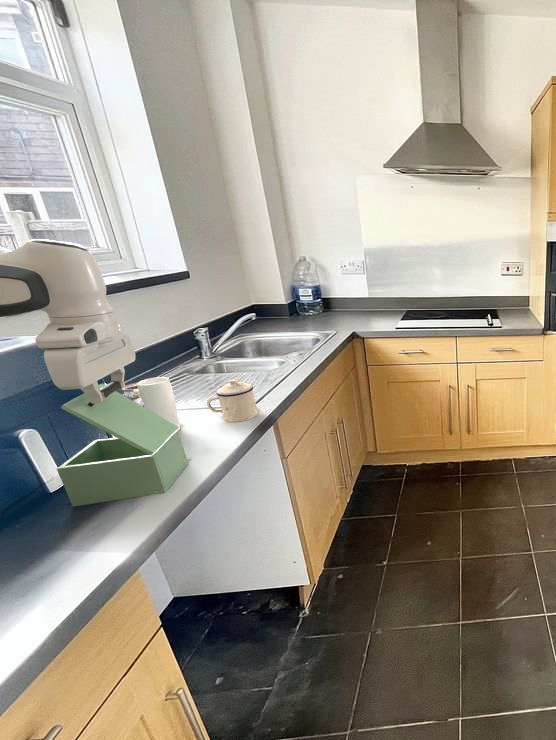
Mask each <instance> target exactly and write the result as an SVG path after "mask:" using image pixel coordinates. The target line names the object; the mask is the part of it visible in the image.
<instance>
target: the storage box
mask: <svg viewBox="0 0 556 740" xmlns="http://www.w3.org/2000/svg"><path fill="white" fill-rule="evenodd" d="M181 438H182V437H181V435H180V430H177V431H175V432H174V433H173V434H172V435H171V436H170V437H169V438H168V439H167V440H166V441H165V442H164V443H163V444H162V445H161V446H160V447H159V448H158V449H157V450H156V451H155V452H154V453H153V454H152V455H149V454H147V453H145V452H143V451H141V450H140V449H138V448H136V447H134V446H132V445H130V444H128V443H126V442H124V441H122V440H121V439H119V438H117V437H110V438H102V439H101V438H100V439H95V440H93V441H92V442H90V443H89V444H87V446H85V447H84V448H82V449H81V450H80V451H78V452H77V453H75V454H74V455H73V456H71V457H70V458H69V459H67V460H66V461H64V463H62V464H61V465H59V466H58V467H57V468H56V472H57V473H58V475H59V478H60V480H61V482H62V485H63V487H64V490H65V492H66V494H67V496H68V500H69V502H70V503H71V506H72V507H80V506H87V505H92V504H93V505H94V504H98V503H99V504H100V503H105V502H112V501H119V500H125V499H133V498H139V497H146V496H151V495H158V494H165V493H166V492H167V491H168V490H169V488H170V487H171V486H172V484H173V483H174V482H175V481H176V480H177V479H178V478H179V476H180V474H182V472H183V471H184V470H185V469H186V467H187V466H188V464H189V461H188V458H187V454H186V452H185V448H184V445H183V440H182V439H181Z"/></svg>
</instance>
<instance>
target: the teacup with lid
mask: <svg viewBox="0 0 556 740" xmlns="http://www.w3.org/2000/svg"><path fill="white" fill-rule="evenodd" d="M254 393H255V392H254V386H253V385H252V384H251V383H248V382H241V381H238V380H237V379H236V378H233V379H229V380H228V383H226V384H225V385H224V386H221V387H219V388H218V389H217V390H216V395H217V396H212V397H209V399H208V400H207V401H206V406H207V409H208V410H209V411H211V412H212V413H215V414H222V416H223V419H224V421H226V422H229V423H240V422H244V421H248V420H250V419H253V418H255V417H256V416H257V415H258V414H259V412H258V407H257V403H256V398H255V394H254ZM216 400H218V401H219V404H220V408H221V409H216V408H214V407H212V405H211V403H212V401H216Z"/></svg>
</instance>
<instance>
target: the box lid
mask: <svg viewBox="0 0 556 740" xmlns="http://www.w3.org/2000/svg"><path fill="white" fill-rule="evenodd" d="M97 388H98V389H99V391H100V392H104V395H105V398H106V399H105V400H104V401H103V402H101V403H95V404H93V403H91V402H90V400H89V397H88V395H86V394H85V393H84V392H83V393H82V394H80V395H79V396H77V397H75V398H73V399H71V400H69V401H67V402H66V403H64V404H63V405H61V406H60V409H62V410H63V411H66V412H67V413H69V414H71V415H72V416H75V417H77V418H79V419H80V420H82V421H84V422H86V423H88V424H90V425H92V426H94V427H96V428H97V429H100V430H102V431H104V432H105V433H107V434H108V435H111V436H113V437H114V438H119V439H121V440H122V441H124V442H126V443H128V444H130V445H132V446H134V447H136V448H138V449H140V450H141V451H143V452H145V453H147V454H149V455H152V454H153V453H154V452H155V451H156V450H157V449H158V448H159V447H160V446H161V445H162V444H163V443H164V442H165V441H166V440H167V439H168V438H169V437H170V436H171V435H172V434H173V433H174V432H175V431H176V430H177V429H178V428H179V427H178V426H176V425H174V424H172V423H171V422H169V421H167V420H165V419H164V418H162V417H160V416H158V415H157V414H155V413H153V412H151V411H150V410H148V409H146V408H144V407H143V406H142V405H140V404H137V403H136V402H134V401H132V400H130V399H129V398H127V397H125V396H124V394H121V393H120V392H119V391H116V390H118V389H120V388H121V384H120V383H119V382H117V381H113V382H109V383H108V384H104V383H100V384H98V386H97Z"/></svg>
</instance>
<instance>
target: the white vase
mask: <svg viewBox="0 0 556 740" xmlns="http://www.w3.org/2000/svg"><path fill="white" fill-rule="evenodd" d="M136 383H137V386H138V390H139V393H140V396H141V399H142V401H143V403H144V406H145V408H146V409H148V410H150V411H151V412H153V413H155V414H157V415H158V416H160V417H162V418H164V419H165V420H167V421H169V422H171V423H172V424H174V425H176V426H178V427H179V428H178V429H177V430H178V431H180V429H181V424H180V420H179V415H178V410H177V405H176V399H175V393H174V389H173V387H172V383H171V380H170V378H169V377H167V376H157V377H149V378H145V379H143V380H140V381H138V382H136ZM177 430H176V431H177Z"/></svg>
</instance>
